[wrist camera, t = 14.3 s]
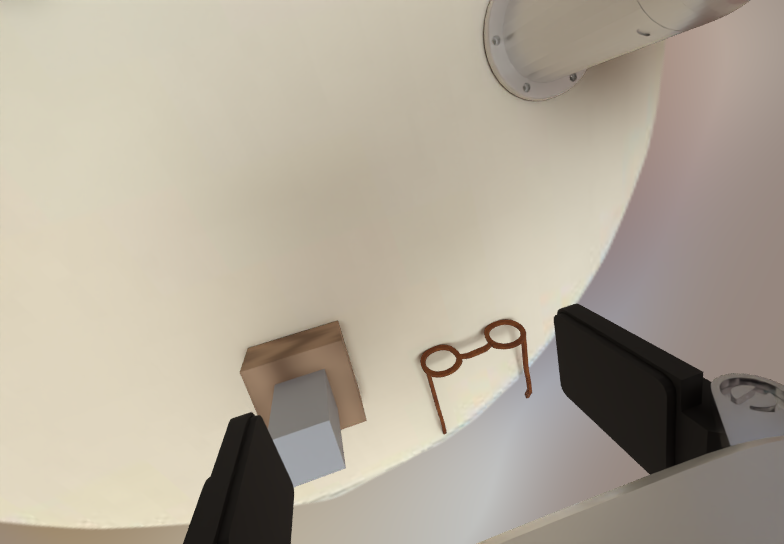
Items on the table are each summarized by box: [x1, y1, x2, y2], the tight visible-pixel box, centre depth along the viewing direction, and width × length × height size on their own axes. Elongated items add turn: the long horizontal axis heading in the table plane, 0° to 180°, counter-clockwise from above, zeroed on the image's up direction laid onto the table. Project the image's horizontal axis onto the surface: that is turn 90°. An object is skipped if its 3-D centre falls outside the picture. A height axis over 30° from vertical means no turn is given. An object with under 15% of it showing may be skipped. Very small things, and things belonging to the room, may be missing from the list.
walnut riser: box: [240, 321, 366, 430], centre depth 39 cm, size 10×10×5 cm
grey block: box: [268, 369, 346, 487], centre depth 33 cm, size 5×5×8 cm
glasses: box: [420, 320, 532, 434], centre depth 45 cm, size 13×13×5 cm
